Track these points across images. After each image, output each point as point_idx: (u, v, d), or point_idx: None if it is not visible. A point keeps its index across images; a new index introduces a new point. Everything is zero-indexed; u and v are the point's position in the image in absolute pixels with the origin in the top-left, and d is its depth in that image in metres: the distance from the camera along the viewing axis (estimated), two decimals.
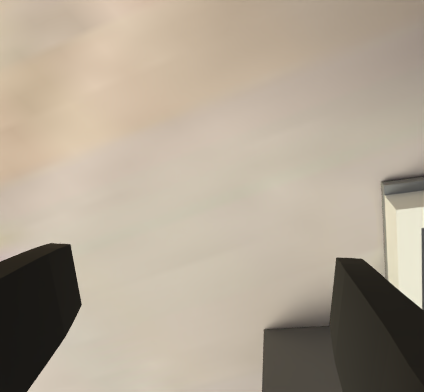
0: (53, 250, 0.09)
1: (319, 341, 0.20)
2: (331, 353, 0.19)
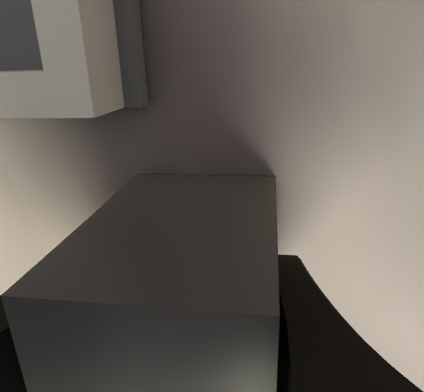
0: None
1: None
2: None
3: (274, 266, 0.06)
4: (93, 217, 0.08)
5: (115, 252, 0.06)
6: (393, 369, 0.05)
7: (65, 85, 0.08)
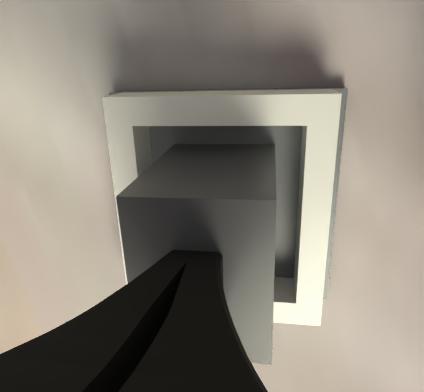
0: (188, 257, 0.09)
1: None
2: None
3: (273, 184, 0.10)
4: (153, 166, 0.12)
5: (175, 180, 0.10)
6: (240, 355, 0.05)
7: (307, 310, 0.15)
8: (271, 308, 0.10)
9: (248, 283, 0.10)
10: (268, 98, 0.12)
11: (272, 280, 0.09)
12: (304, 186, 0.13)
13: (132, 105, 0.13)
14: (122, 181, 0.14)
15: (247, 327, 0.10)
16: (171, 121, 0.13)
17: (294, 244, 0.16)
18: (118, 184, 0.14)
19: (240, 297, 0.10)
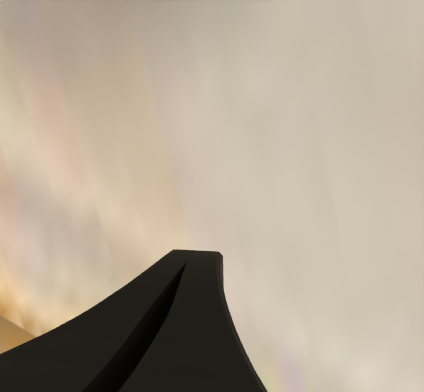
0: (188, 257, 0.09)
1: None
2: None
3: None
4: None
5: None
6: (240, 355, 0.05)
7: None
8: None
9: None
10: None
11: None
12: None
13: None
14: None
15: None
16: None
17: None
18: None
19: None
